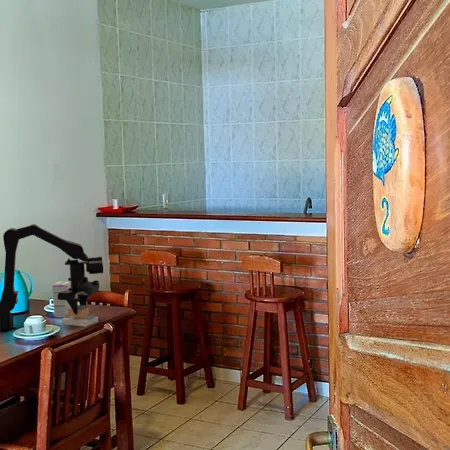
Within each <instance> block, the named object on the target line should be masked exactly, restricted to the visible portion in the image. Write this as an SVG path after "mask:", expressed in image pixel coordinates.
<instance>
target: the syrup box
mask: <svg viewBox="0 0 450 450" xmlns="http://www.w3.org/2000/svg"><path fill="white" fill-rule="evenodd" d="M51 287H52V289H51V291H52V301H53V302H52V303H53V315H54V318H57V319H58V318H59V319H64V318H65V314H68V309H69V308H71V307H70V305H69V304H68V302H67V301H66V300H58V296H57V295H58V293H59V292H63V291H69V288H71V281H68V280H66V281H65V280H64V281H57V282H55V283H52V284H51Z"/></svg>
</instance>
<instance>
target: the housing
mask: <svg viewBox="0 0 450 450" xmlns="http://www.w3.org/2000/svg"><path fill="white" fill-rule="evenodd" d="M68 314H69V316H73V317H85V316H89V315H90V313H89V307H86V308H85V305H80V304H78V313H77V315H76V314H74V312H73V310H72V308H69V309H68Z"/></svg>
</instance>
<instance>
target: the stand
mask: <svg viewBox="0 0 450 450" xmlns="http://www.w3.org/2000/svg"><path fill="white" fill-rule="evenodd" d="M96 323H99V317H98V316H96V315H95V314H93V313H92V314H89V315H88V316H85V317H73V316H69V314H65V318H61V325H67V326H77V327H78V326H79V327H88V326H90V325H94V324H96Z"/></svg>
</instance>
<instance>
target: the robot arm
mask: <svg viewBox="0 0 450 450" xmlns="http://www.w3.org/2000/svg"><path fill="white" fill-rule="evenodd" d="M31 236H34V237H36V238H37V239H41V240H42V241H44V242H46V243H48V244H50V245H52V246H55V247H56V248H57V249H60V250H61V251H62V252H64V253H65V254H66V255H67V256H68V258H67V260H66V261H65V262H64V265H65V266H69V277H68V280H67V281H68V282H70V286H71V288H69V291H63V292H59V293H58V295H57V296H58V300H66V301H67V302H68V304H69V305H70V307H71V308H72V310H73V312H74V314H76V315H77V313H78V306H79V305H85V308H87V304H88V301H89V299H90V298H91V297H92V296H93V295H94V294H97V293H99V289H100V281H99V280H97V279H95V280H93V281H89V278H88V277H87V276H86V274H85V272H86V273H88V275H98V274H104V264H103V257H102V256H96V257H95V256H94V257H89V256H88V255H87V254H86V252H85V250H84V247H83V246H82V244H81V243H78V242H74V241H71V240H67V239H63V238H61V237H60V236H58V235H56V234H54V233H52V232H51V231H48V230H46V229H44V228H42V227H40V226H39V225H37V224H30V225H27V226H24V227H20V228H19V227H18V228H14V227H10V228H9V229H7V230H5V232H4V233H3V235H2V239H3V246H4V251H5V259H4V280H3V288H2V292H1V296H0V333H5V332H6V333H7V332H8V331H12V330H15V329H17V326H14V315H13V312H11V311H13V310H14V309H15V306H16V305H17V304H18V303H19V298H18V295H19V290H17V291H16V290H15V276H16V275H15V273H16V258H17V257H16V256H17V250H18V245H19V243H20V240H22V239H24V238H27V237H31ZM69 257H70V258H71V259H70V258H69ZM79 260H81V261H79ZM85 269H86V270H85Z"/></svg>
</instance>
